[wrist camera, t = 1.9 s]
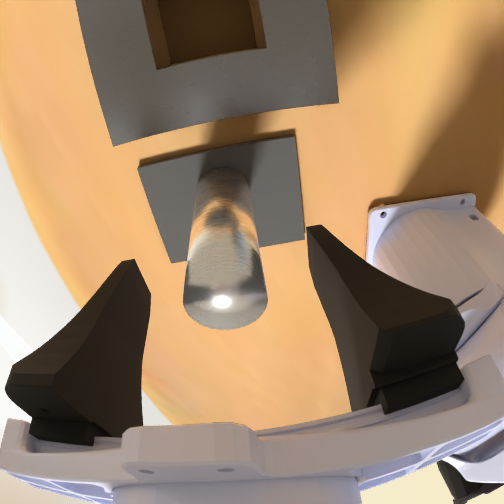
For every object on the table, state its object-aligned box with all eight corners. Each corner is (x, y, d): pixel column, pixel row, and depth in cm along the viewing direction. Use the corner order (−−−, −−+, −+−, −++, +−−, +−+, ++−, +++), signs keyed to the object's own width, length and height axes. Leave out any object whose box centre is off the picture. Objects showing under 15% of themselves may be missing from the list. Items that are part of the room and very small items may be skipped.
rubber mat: (293, 134, 17) (294, 136, 17) (303, 236, 22) (304, 239, 21) (138, 165, 18) (137, 168, 17) (172, 259, 22) (171, 263, 21)
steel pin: (244, 162, 18) (261, 262, 10) (252, 207, 19) (272, 322, 12) (191, 172, 18) (171, 278, 11) (203, 216, 20) (196, 334, 12)
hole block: (287, -72, 10) (305, -99, 7) (314, 89, 16) (338, 103, 13) (98, -34, 10) (68, -48, 7) (134, 124, 16) (113, 146, 13)
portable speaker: (399, 387, 37) (440, 514, 22) (415, 347, 32) (474, 502, 16) (451, 369, 37) (497, 485, 22) (472, 328, 32) (537, 462, 16)
